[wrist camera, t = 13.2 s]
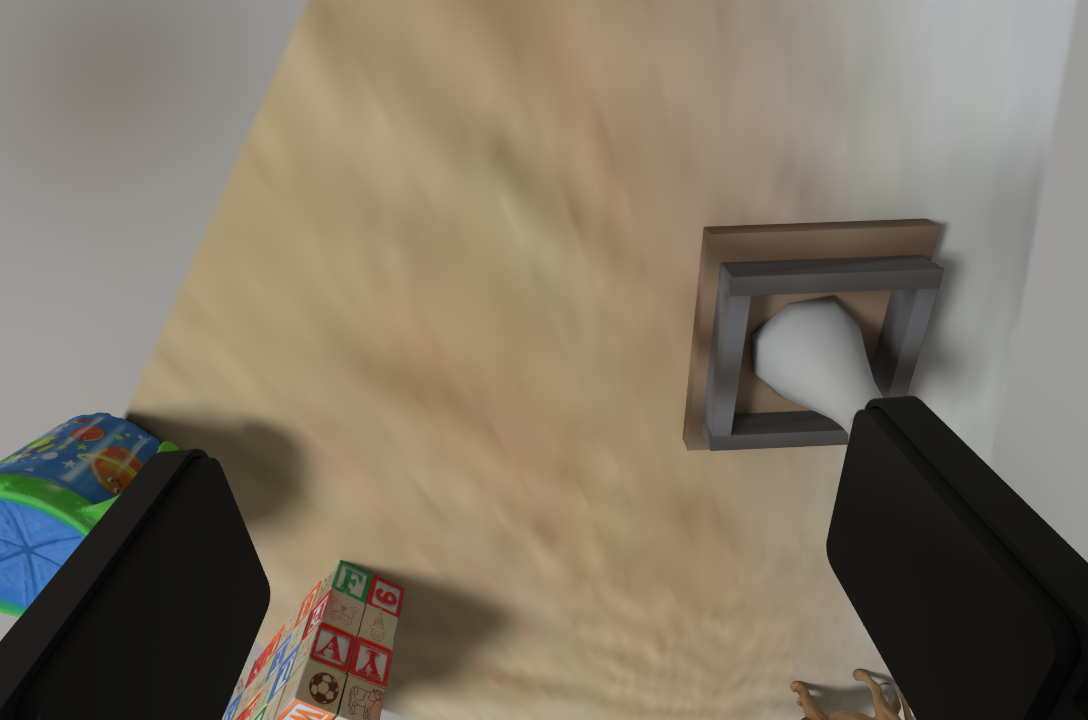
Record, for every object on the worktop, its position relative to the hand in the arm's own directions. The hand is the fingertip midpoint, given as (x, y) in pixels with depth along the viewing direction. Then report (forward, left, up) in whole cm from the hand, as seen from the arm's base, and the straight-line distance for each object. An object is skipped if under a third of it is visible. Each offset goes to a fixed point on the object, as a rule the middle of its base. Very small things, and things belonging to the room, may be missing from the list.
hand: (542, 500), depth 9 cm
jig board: (+13, +18, -30) cm, 37 cm away
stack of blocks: (+42, -20, -31) cm, 56 cm away
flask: (+13, +18, -29) cm, 36 cm away
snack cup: (+20, -30, -30) cm, 47 cm away
